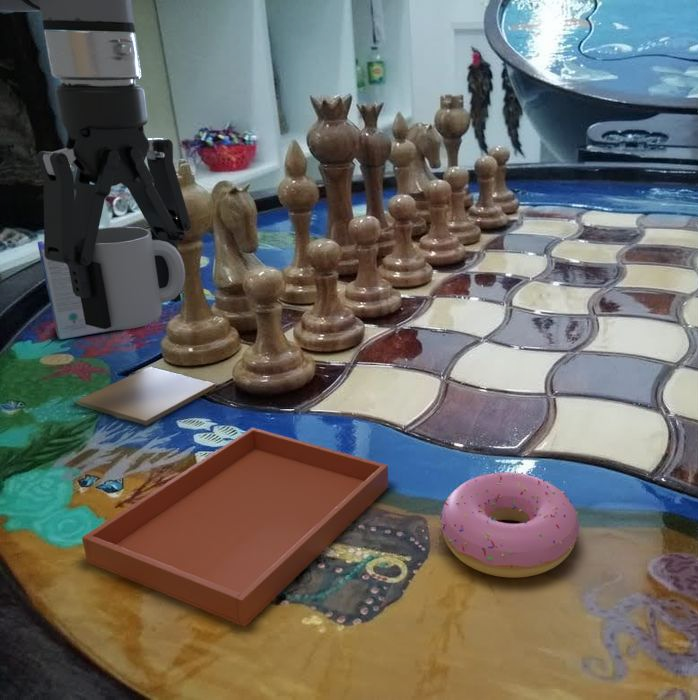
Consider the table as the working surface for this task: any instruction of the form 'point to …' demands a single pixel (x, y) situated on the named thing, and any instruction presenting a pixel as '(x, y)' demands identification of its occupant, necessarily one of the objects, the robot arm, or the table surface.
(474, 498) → the doughnut
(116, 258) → the cup
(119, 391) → the cork mat
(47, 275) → the ink cartridge box
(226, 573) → the tray
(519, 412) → the table surface
